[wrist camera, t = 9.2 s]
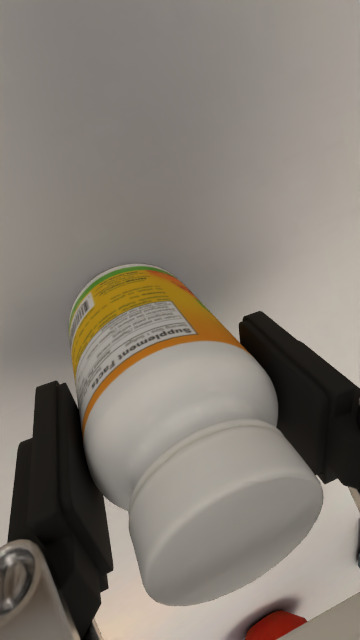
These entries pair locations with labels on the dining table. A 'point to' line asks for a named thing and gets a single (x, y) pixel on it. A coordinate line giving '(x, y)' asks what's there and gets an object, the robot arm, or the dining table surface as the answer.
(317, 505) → the supplement bottle
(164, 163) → the dining table surface
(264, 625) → the apple
